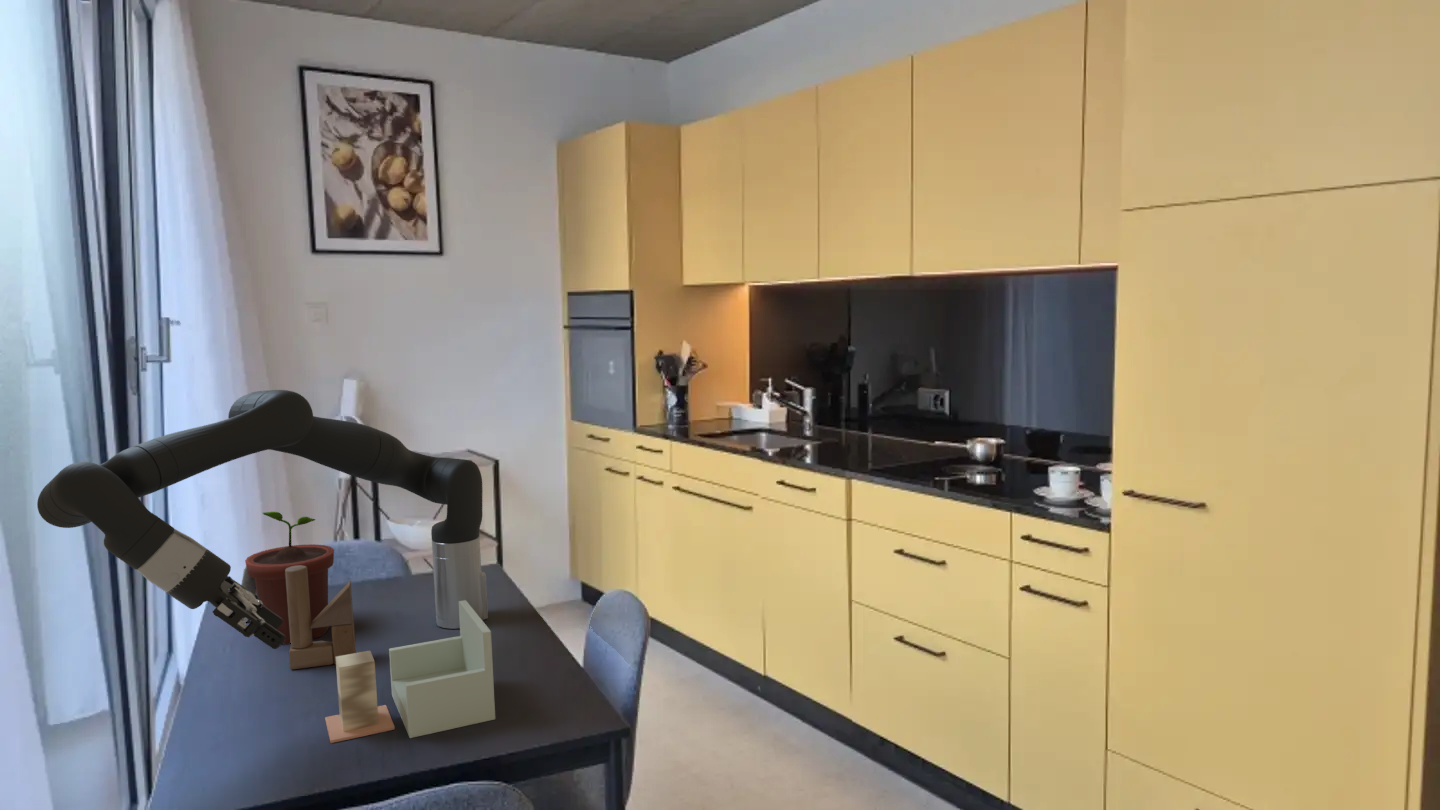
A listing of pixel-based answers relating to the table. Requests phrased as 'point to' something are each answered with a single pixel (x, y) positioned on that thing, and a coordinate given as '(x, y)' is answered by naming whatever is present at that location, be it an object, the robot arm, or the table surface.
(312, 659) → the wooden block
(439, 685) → the cubby
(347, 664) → the birch block
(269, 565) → the potted plant
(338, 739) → the mat
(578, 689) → the table surface
